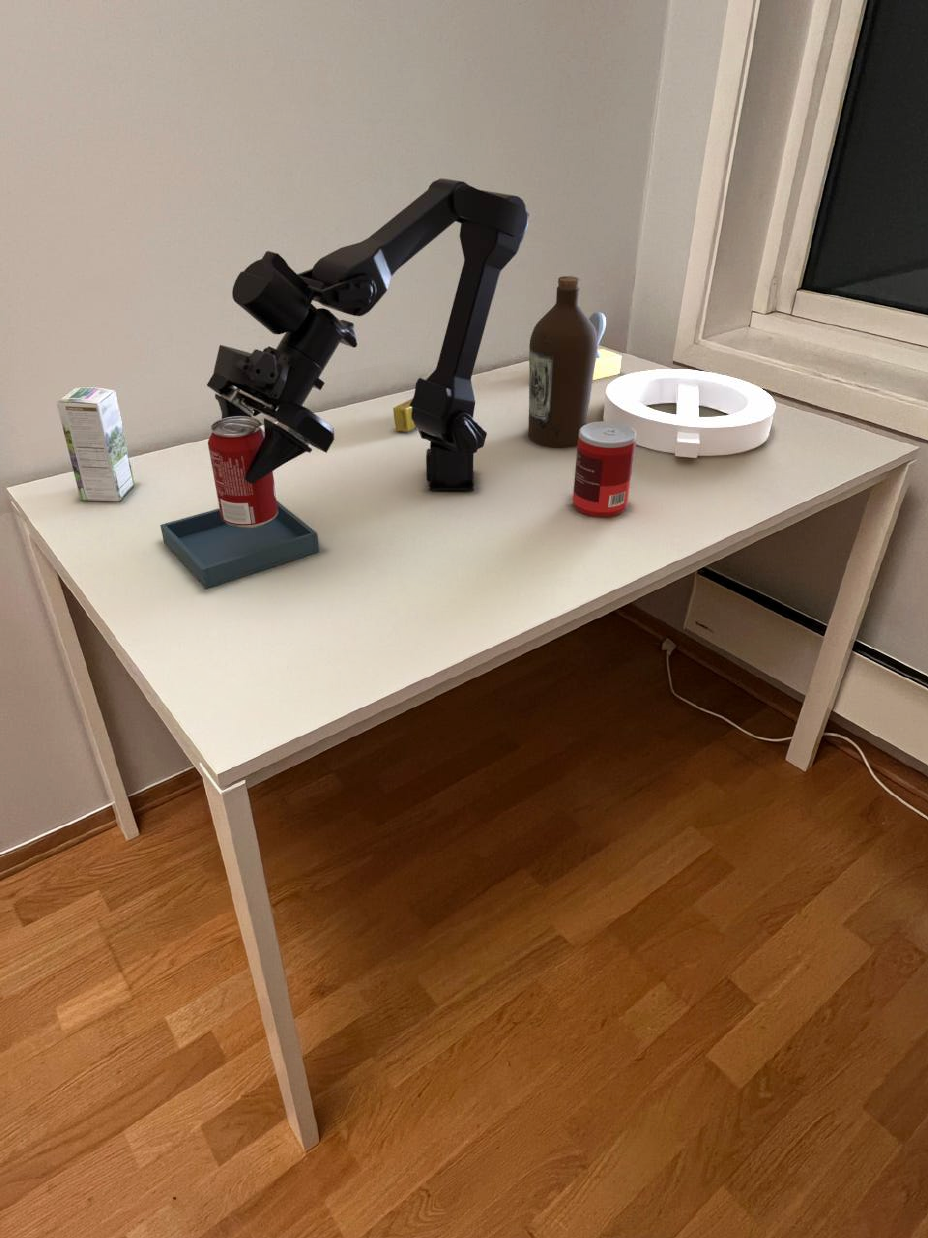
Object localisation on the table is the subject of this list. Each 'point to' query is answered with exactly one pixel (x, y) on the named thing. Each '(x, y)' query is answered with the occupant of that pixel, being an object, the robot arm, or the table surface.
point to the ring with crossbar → (691, 411)
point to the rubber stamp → (604, 351)
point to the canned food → (603, 468)
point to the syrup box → (96, 443)
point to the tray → (237, 545)
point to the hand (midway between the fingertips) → (232, 472)
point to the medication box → (403, 417)
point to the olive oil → (561, 370)
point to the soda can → (240, 473)
